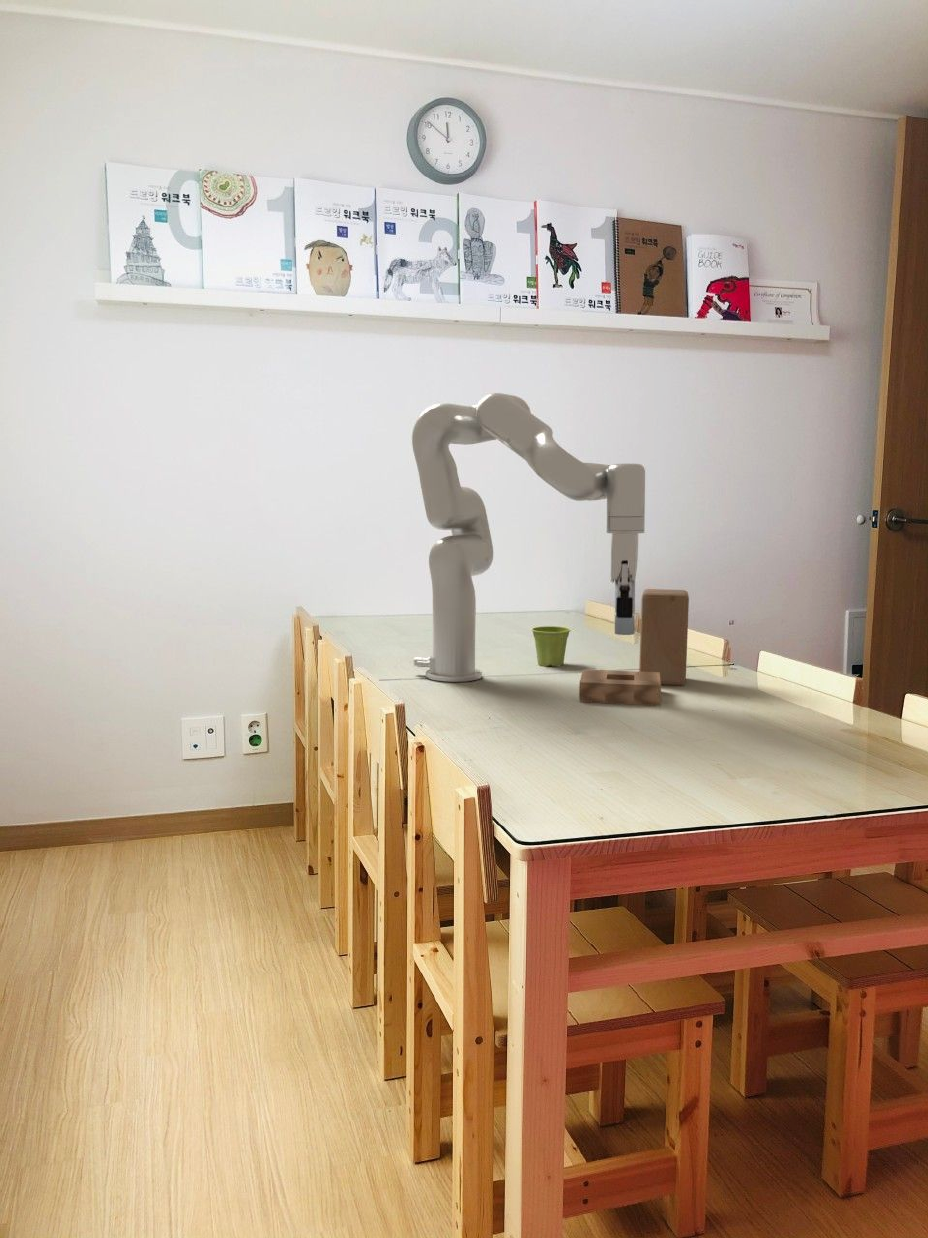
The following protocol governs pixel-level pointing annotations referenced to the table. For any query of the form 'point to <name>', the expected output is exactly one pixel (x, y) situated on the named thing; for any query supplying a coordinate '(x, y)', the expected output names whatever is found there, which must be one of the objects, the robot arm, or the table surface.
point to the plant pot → (550, 644)
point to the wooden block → (664, 634)
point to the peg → (625, 624)
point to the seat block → (620, 687)
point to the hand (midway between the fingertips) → (624, 615)
